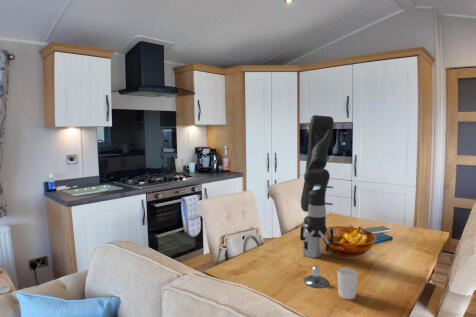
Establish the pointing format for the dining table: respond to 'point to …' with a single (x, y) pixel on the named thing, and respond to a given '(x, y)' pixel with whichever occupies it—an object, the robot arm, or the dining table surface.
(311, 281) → the lid
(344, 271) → the white cup
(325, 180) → the robot arm
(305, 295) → the dining table surface
